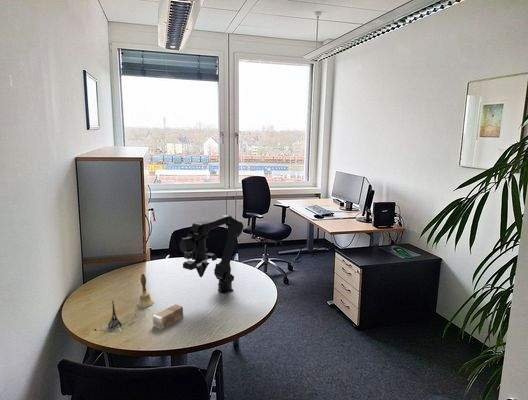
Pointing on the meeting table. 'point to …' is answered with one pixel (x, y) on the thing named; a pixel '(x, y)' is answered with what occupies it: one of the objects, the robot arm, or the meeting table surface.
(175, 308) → the wooden block
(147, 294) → the hand bell
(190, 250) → the robot arm
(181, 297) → the meeting table surface
